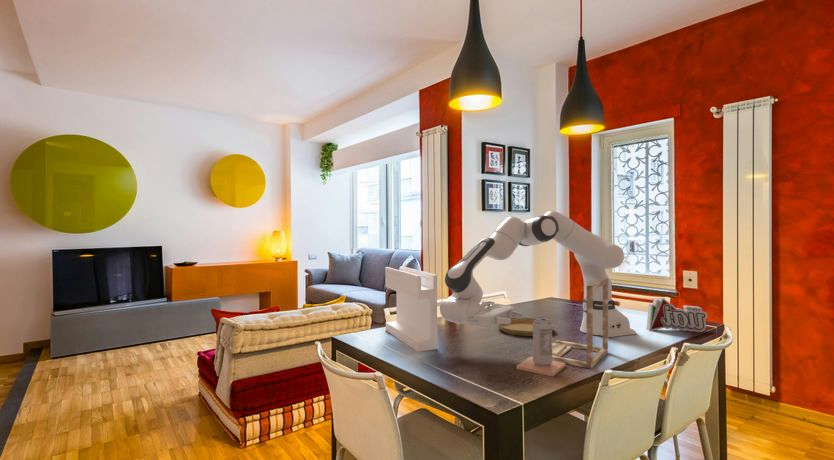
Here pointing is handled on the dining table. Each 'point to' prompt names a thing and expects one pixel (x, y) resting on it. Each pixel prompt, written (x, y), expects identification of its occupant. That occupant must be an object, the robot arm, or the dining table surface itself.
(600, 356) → the birch rack
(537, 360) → the energy drink can
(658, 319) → the decorative sign
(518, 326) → the plant saucer
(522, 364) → the terracotta tile
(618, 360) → the dining table surface
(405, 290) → the block
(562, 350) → the beige rectangular tray
